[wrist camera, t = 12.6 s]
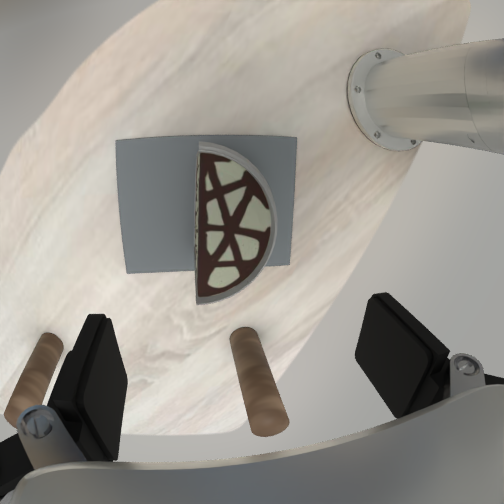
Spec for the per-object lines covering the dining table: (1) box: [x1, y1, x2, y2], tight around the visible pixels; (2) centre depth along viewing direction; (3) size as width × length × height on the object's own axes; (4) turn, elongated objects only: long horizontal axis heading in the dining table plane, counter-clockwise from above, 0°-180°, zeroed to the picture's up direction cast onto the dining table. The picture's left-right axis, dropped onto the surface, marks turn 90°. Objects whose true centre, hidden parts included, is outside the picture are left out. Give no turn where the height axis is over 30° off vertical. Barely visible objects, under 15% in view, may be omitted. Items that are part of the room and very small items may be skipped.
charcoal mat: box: [116, 135, 297, 274], centre depth 30 cm, size 18×14×1 cm
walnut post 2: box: [230, 327, 289, 437], centre depth 31 cm, size 4×4×14 cm
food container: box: [194, 141, 278, 305], centre depth 26 cm, size 12×6×10 cm, turn 176°
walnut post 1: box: [4, 333, 64, 429], centre depth 26 cm, size 4×4×14 cm
